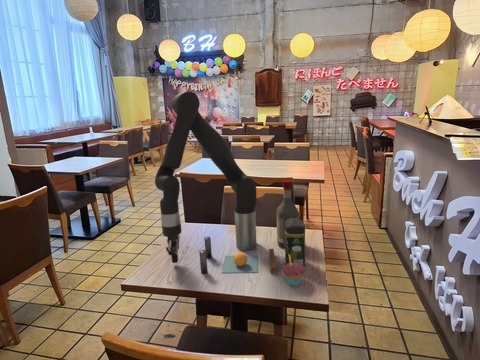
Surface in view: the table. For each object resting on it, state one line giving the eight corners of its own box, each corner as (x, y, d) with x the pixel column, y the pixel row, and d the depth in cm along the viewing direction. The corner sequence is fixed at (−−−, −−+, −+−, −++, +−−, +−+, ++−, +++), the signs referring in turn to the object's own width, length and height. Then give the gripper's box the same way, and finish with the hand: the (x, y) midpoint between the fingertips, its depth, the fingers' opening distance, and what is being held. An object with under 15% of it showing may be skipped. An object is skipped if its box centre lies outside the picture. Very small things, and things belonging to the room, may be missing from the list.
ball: (245, 248, 130) (232, 252, 131) (243, 254, 124) (230, 258, 125) (249, 260, 131) (237, 264, 132) (248, 266, 125) (235, 270, 126)
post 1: (208, 270, 126) (206, 249, 124) (207, 274, 123) (205, 253, 121) (201, 270, 126) (199, 250, 124) (200, 274, 123) (198, 253, 121)
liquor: (295, 239, 150) (295, 178, 143) (300, 248, 141) (299, 183, 134) (276, 240, 150) (275, 179, 142) (279, 249, 141) (278, 184, 134)
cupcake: (291, 291, 110) (290, 259, 107) (277, 280, 117) (276, 250, 114) (310, 284, 114) (311, 253, 111) (296, 273, 121) (296, 244, 118)
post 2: (212, 255, 138) (210, 236, 136) (211, 258, 136) (210, 239, 133) (206, 255, 138) (204, 236, 136) (205, 258, 136) (203, 239, 134)
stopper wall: (273, 253, 137) (273, 248, 136) (276, 273, 121) (276, 267, 121) (269, 254, 137) (268, 248, 136) (270, 273, 122) (270, 267, 121)
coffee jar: (284, 258, 133) (283, 216, 128) (303, 258, 132) (303, 216, 128) (285, 270, 123) (285, 225, 119) (306, 270, 123) (306, 225, 118)
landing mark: (257, 255, 136) (257, 254, 136) (257, 272, 123) (257, 272, 123) (225, 256, 137) (225, 255, 137) (221, 273, 124) (221, 272, 124)
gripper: (176, 228, 120) (180, 270, 125) (183, 216, 133) (187, 254, 137) (156, 229, 121) (161, 270, 125) (166, 217, 134) (170, 254, 138)
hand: (175, 261), depth 131 cm, fingers closed
